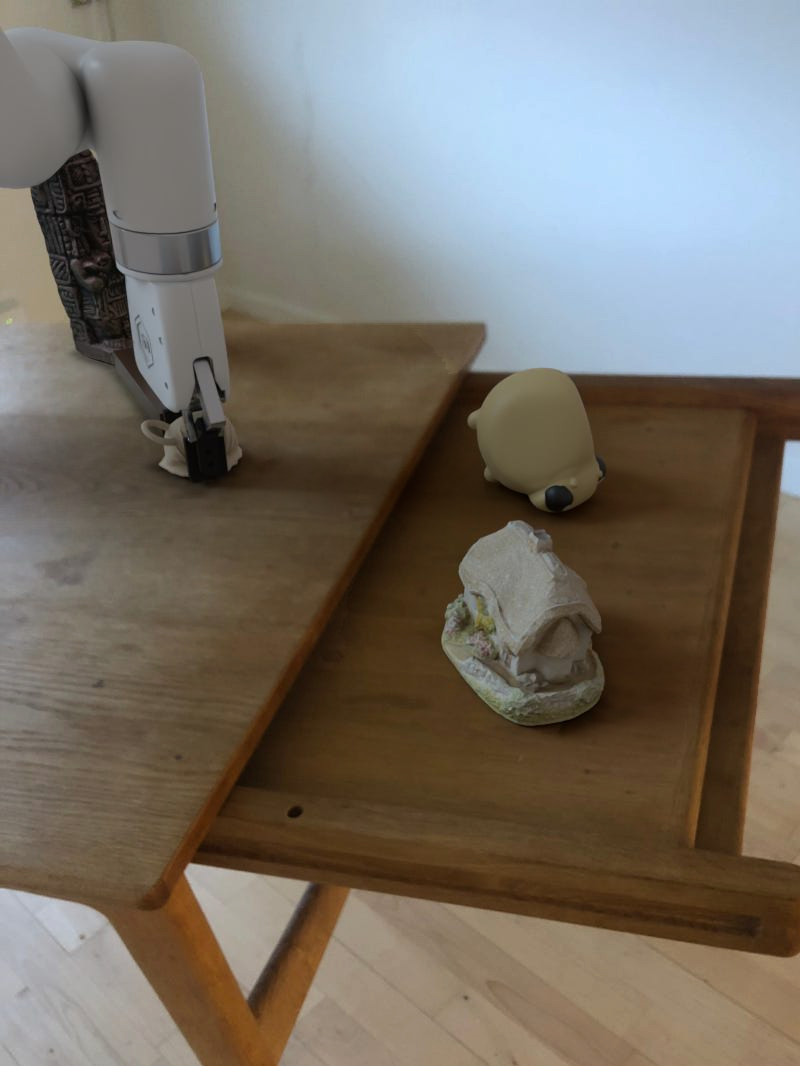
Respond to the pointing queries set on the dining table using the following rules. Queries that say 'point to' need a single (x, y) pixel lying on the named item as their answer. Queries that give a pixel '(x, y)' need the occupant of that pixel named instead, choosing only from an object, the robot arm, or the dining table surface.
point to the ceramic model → (524, 629)
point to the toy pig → (539, 439)
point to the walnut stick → (138, 384)
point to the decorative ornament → (175, 446)
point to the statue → (84, 257)
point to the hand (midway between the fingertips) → (198, 461)
